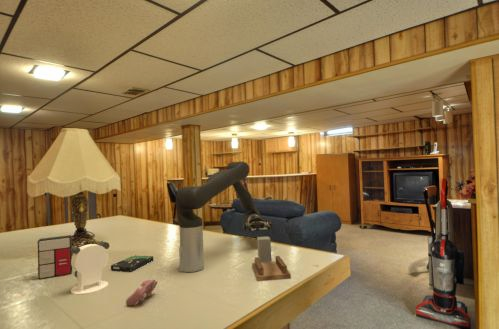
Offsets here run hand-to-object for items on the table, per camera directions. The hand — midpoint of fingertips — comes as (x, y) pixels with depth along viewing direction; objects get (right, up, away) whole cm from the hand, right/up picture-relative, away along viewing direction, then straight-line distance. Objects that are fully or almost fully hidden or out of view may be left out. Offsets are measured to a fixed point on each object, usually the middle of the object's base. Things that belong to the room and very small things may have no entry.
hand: (259, 229), depth 134 cm
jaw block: (+2, -11, -13) cm, 17 cm away
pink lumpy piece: (-38, -12, -45) cm, 60 cm away
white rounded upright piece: (-60, -13, -34) cm, 70 cm away
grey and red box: (-82, -14, -20) cm, 86 cm away
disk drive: (-55, -14, -11) cm, 58 cm away
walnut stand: (+3, -11, -26) cm, 28 cm away
